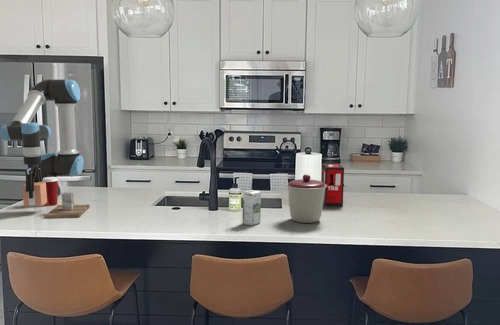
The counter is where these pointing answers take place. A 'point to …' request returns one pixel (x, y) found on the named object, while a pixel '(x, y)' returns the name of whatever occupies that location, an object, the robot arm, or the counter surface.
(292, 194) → the canister
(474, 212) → the counter surface
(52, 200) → the paper cup
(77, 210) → the wooden base with block
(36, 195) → the peach bevelled cube
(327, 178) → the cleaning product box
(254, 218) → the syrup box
